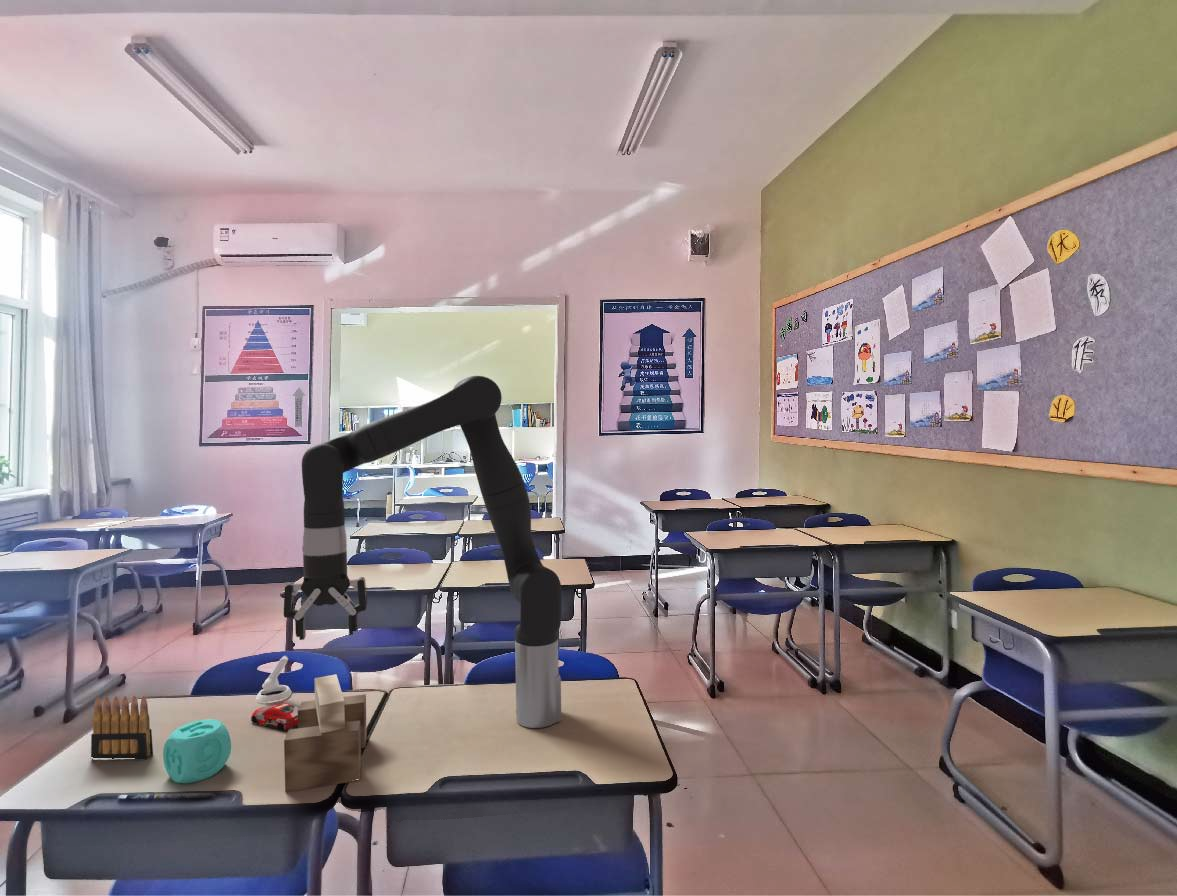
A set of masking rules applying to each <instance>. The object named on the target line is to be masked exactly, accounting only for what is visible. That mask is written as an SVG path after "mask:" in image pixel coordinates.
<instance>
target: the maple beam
mask: <svg viewBox="0 0 1177 896" xmlns="http://www.w3.org/2000/svg"><path fill="white" fill-rule="evenodd" d="M313 678H314V677H313ZM343 695H344V694H343V691H342V689H341V685H340V682H339V678H338V675H337V674H336V673H335V674H331V675H325V676H320V677H315V678H314V700H315V706H316V712H317V717H318V722H319V728H320V733H326V732H330V731H335V730H339V729H344V728H345V710H344V698H343V697H344V696H343Z"/></svg>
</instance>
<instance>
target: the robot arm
mask: <svg viewBox="0 0 1177 896" xmlns="http://www.w3.org/2000/svg"><path fill="white" fill-rule="evenodd" d="M502 397H503V396H502V392H501V389H500V387H499V385H498V384H497V383H496V382H495V381H494V380H492V379H490V378H489V377H486V376H483V375H474V376H473V375H472V376H468V377H466V378H463V379H461V380H459V381H458V382H457V383H456V384H455V385H454V387H453V388H452V389H451V390H449V391H448V392H446V393H444V394H443V395H441V396H438V397H436V398H435V399H433V400H430V401H428V402H425V403H422V404H421V405H417V406H414V407H411V408H408V409H405V410H402V411H398V412H396V413H393V414H389V415H386V416H385V417H382V418H379V419H377V420H374V421H372V422H370V423H369V422H368V423H366V424H364V425H363V426H361V427H357V428H356V429H354V430H352V431H351V432H349V433H346V434H343V435H341V436H338V437H334V438H333V439H330V440H327V441H324V442H321V443H318V444H315V445H312V446H311V447H309V448H307V450H306V451H305V452H304V454H303V456H302V458H301V476H302V487H303V488H302V489H303V496H304V497H303V498H304V503H303V536H302V546H301V547H302V556H303V557H302V562H303V565H302V566H303V581H302V583H294V582H292V581H291V582H288V583H287V584H286V585H285V587H284V593H283V595H284V596H283V617H284V618H286V619H288V618H290V619H293V620H294V622H295V624H294V625H295V636H296V638H299V640H300V641H303V640H305V638H306V635H307V633H306V630H307V629H306V616H304V615H305V614H306V612H308V610H309V609H310V607H311V606H312V605H315V606H316V607H319V606H320V607H321V606H324V605H329V606H331V605H332V606H333V605H335V604H337V603H338V604H339V605H340V606H341V607H342V608H344V609H345V611H346V612H347V613H348V635H349V636H352V635H354V633H355V632H357V630H358V614H359V613H361V612H365V611H366V610H367V608H368V599H367V598H368V597H367V587H366V586H367V584H366V578H365V577H363V576H360V577H359V578H357V579H350V578H349V576H348V550H347V547H348V546H347V531H346V524H345V502H344V498H343V492H344V491H343V489H344V487H343V486H344V473H346V472H349V471H351V470H353V469H356V468H357V467H359V466H361V465H363V464H368V463H372V462H374V461H378V460H380V459H382V458H386V457H387V456H389V455H392V454H394V453H398V452H399V451H401V450H403V449H405V448H407V447H410V446H411V445H413V444H416V443H417V442H420V441H422V440H424V439H426V438H429V437H430V436H433V435H435V434H437V433H440V432H443V431H445V430H449V429H451V428H453V427H454V428H455V427H457V426H460V428H461V431H462V433H463V435H464V438H465V440H466V442H467V446H468V448H469V452H470V455H471V458H472V459H471V460H472V464H473V468H474V472H475V475H476V480H477V483H478V487H479V490H480V494H481V497H482V499H483V502H484V505H485V509H486V512H487V514H488V518H489V520H490V522H491V523H490V524H491V525H492V528H493V532H494V533H495V536H496V538H497V542H498V544H499V546H500V549H501V553H502V556H503V557H502V558H503V560H504V561H503V562H504V566H505V570H506V575H507V579H508V585H509V588H510V589H509V590H510V592H511V595H512V596H513V598H514V600H516V601H517V602H518V603H520V613H519V614H520V616H519V617H520V619H519V620H520V622H519V624H517V625H516V627H515V629H514V650H515V651H514V654H515V657H514V658H515V659H514V660H515V661H514V662H515V714H516V715H515V717H516V718H515V720H516V722H517V724H519V725H520V726H522V727H525V728H529V729H530V728H531V729H541V728H546V727H549V726H552V725H554V724H556V723H559V722H562V677H561V676H560V673H559V641H558V639H559V630H560V627H561V625H562V600H563V599H562V598H563V597H562V596H563V595H562V591H563V590H562V583H561V581H560V577H559V576H558V574H556V572H555V571H554V570H552V569H551V568H548V567H546V566H544V565H543V563H542V561H541V559H540V556H539V554H538V551H537V549H536V545H535V544H534V541H533V535H532V510H531V509H532V508H531V503H530V498H529V494H528V491H527V487H526V485H525V481H524V479H523V475H522V473H521V471H520V468H519V467H518V464H517V463H516V461H515V459H514V458H513V455H512V454H511V453H510V451H509V449H508V446H507V445H506V444H505V441H504V439H503V437H502V434H501V432H500V428H499V424H498V420H497V416H496V413H497V412H498V411H499V409H500V407H501V404H502V400H503V399H502ZM350 587H352V588H353V590H354V591H355V592H357V594H358V595H357V596H358V604H355V603H354V602H353V601H352V599H351V597H349V595H348V594H347V593H346V592H347V591H349V590H348V589H349V588H350ZM299 591H301V592H302V593H303V595H305V596H306V598H307V599H306V600H305V601H304V602H303V604H302V605H301V607H299V608H298V610H297V609H294V607H295V605H294V604H295V603H294V601H295V596H297V594H298V593H299Z"/></svg>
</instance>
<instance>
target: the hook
mask: <svg viewBox="0 0 1177 896" xmlns="http://www.w3.org/2000/svg"><path fill="white" fill-rule="evenodd" d="M288 661H289V658H288V656H287V655H283V656H282V657H281V658H280V659H279V661H278V662H277V664H276V665H275V666H274V668H273V670H272V672H271V673H270V674H269V676H268V677H267V678H266V679H265V681H264V683H262V684H261V685H262V686H261V687H262V688H263V689H261V690H260V691H259V692H258V693H257V695H256V698H255V700H256V699H257V700H258V701H261V702H268V701H274V700H280V699H284V698H286V697H288V696H290V695H291V693H292V694H293V692H292V690H291V688H290V687H289V685H284V684H280V683H279V682H280V681H279V679H278V677H279V675H280V674H281V672H282V671H283V669H284V668H285V666H286V664H287V663H288ZM273 692H278V693H276V694H271V693H273ZM279 692H280V693H279ZM261 694H264V695H261ZM266 694H269V695H266ZM270 694H271V695H270ZM291 696H292V695H291ZM291 696H290V697H291Z"/></svg>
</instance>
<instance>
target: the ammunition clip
mask: <svg viewBox="0 0 1177 896" xmlns="http://www.w3.org/2000/svg"><path fill="white" fill-rule="evenodd" d="M102 704H103V705H102ZM129 704H130V702H129V699H128V698H127V696H126V695H124V696H123V698H122V701H121V703H120V699H119V697H118V696H117V695H115V697H114V698H113V700H112V706H111V701H110V698H109V696H105V698H104V701H103V703H102V701H101V697H99V696H96V698H95V701H94V704H93V705H94V706H93V718H92V733H91V738H90V739H91V742H90V745H91V746H90V758H91V757H93V758H112V759H114V758H135V759H146V760H148V759H149V758H150V756H151V757H152V756H153V755H154V750H153V749H154V747H153V745H154V744H153V734H152V733H153V732H152V728H150V727H151V726H150V724H151V723H150V722H151V721H150V715H149V707H148V700H147V698H146V696H145V695H142V697H141V700H140V705H139V702H138V698H137V696H136V695H133V697H132V700H131V704H130V705H129ZM148 757H149V758H148ZM147 758H148V759H147Z"/></svg>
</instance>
